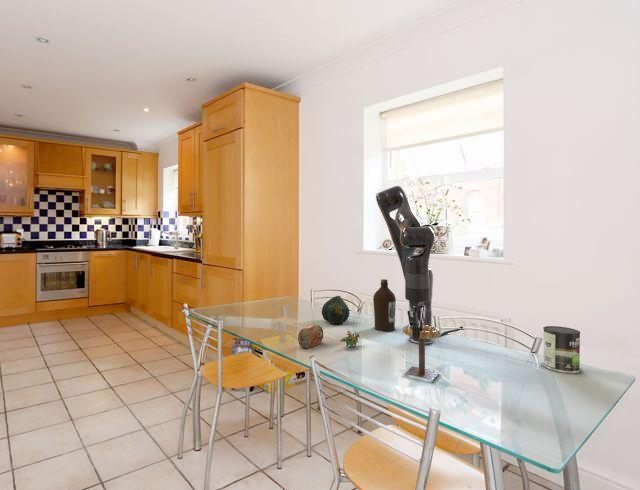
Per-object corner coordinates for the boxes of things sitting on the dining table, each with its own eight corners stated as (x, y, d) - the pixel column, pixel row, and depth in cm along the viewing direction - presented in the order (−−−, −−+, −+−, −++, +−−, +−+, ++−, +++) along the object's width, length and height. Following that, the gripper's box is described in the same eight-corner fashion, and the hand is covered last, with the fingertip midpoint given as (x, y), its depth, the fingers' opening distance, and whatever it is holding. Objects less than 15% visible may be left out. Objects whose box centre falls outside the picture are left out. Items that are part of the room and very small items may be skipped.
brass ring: (409, 328, 144) (409, 322, 144) (444, 333, 136) (444, 327, 136) (398, 335, 135) (398, 328, 135) (435, 341, 127) (435, 334, 127)
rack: (412, 369, 142) (412, 328, 142) (439, 375, 137) (439, 332, 136) (404, 377, 136) (404, 333, 135) (432, 383, 130) (432, 338, 129)
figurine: (362, 348, 168) (362, 329, 167) (342, 353, 161) (342, 333, 161) (357, 346, 170) (356, 327, 170) (336, 351, 164) (336, 331, 164)
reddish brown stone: (302, 350, 166) (302, 330, 166) (296, 348, 169) (296, 329, 168) (324, 342, 176) (323, 324, 176) (318, 341, 179) (318, 322, 178)
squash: (317, 315, 207) (336, 294, 205) (316, 310, 221) (334, 290, 220) (338, 333, 205) (357, 312, 203) (335, 327, 219) (354, 307, 218)
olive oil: (369, 329, 197) (369, 279, 197) (379, 325, 205) (379, 277, 204) (390, 333, 190) (389, 281, 189) (399, 328, 197) (399, 279, 197)
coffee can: (585, 370, 139) (586, 330, 139) (571, 375, 134) (571, 334, 134) (551, 361, 148) (552, 324, 148) (537, 366, 143) (537, 328, 143)
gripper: (412, 282, 140) (412, 330, 140) (398, 287, 129) (399, 339, 129) (434, 284, 135) (435, 334, 135) (423, 290, 124) (423, 344, 124)
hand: (417, 336), depth 132 cm, fingers closed on brass ring, 2 cm apart
